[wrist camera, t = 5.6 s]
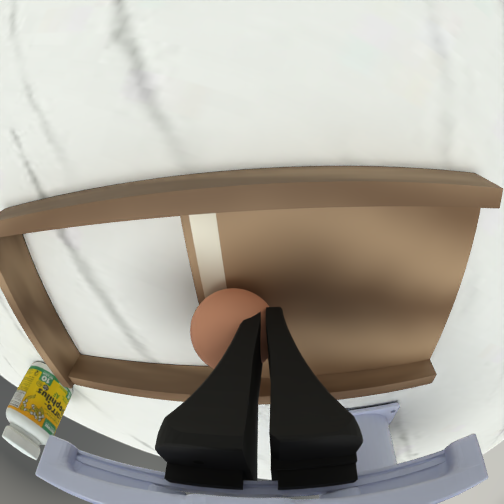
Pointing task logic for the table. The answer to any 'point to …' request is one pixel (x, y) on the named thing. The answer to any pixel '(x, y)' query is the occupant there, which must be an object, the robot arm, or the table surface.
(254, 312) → the ball
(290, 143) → the table surface
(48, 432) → the supplement bottle
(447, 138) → the table surface
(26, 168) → the table surface
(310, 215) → the lane
